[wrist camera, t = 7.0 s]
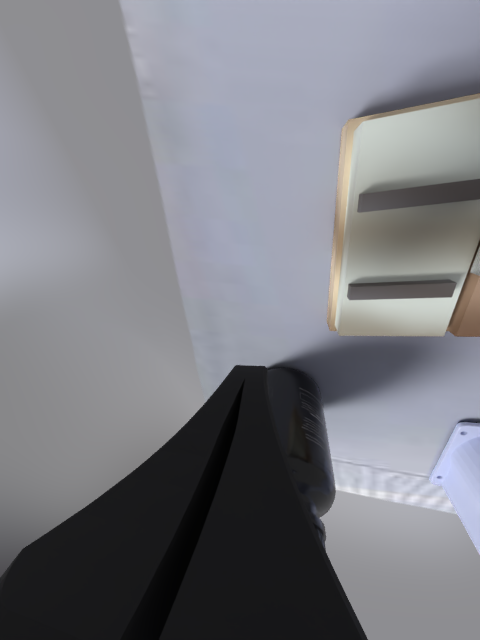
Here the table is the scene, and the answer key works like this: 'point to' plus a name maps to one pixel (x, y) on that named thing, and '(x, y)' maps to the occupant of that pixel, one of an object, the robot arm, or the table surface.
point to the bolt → (476, 264)
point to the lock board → (408, 223)
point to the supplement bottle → (304, 439)
